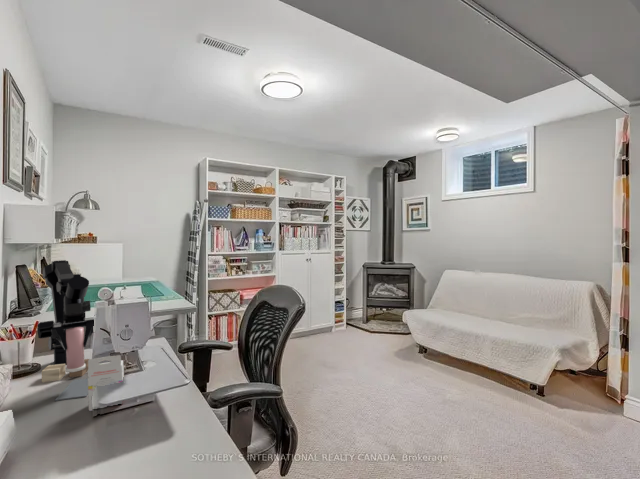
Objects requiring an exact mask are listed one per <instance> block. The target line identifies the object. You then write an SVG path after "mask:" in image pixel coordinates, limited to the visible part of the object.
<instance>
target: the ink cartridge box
mask: <svg viewBox="0 0 640 479" xmlns="http://www.w3.org/2000/svg"><path fill="white" fill-rule="evenodd" d="M88 359H89V360H88V371H87V372H86V373H87V378H88V395H87V399H88V402H87V403H88V411H89V412H91V411H93V410H92V396H93V392H94V391H95V388H96V386H105V385H110V384H114V383H120V382H122V381H123V377H124V378H125V370H124V359H123V360H122V356H121V355H120V354H117V355H112V356H111V355H110V356H103V357H97V358H88ZM104 361H106V362H104ZM108 361H109V362H108ZM100 362H103V363H100Z"/></svg>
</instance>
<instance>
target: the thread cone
mask: <svg viewBox="0 0 640 479" xmlns="http://www.w3.org/2000/svg"><path fill="white" fill-rule="evenodd" d="M84 338H85V327H74V328H69V329H67V330H66V357H67V364H66V366H65V373H69V372H77V371H80V370H83V369H85V368H86V364H85V363H84V359H85V347H84Z"/></svg>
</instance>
